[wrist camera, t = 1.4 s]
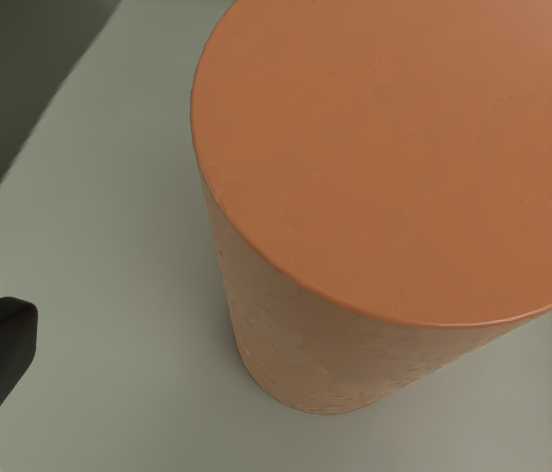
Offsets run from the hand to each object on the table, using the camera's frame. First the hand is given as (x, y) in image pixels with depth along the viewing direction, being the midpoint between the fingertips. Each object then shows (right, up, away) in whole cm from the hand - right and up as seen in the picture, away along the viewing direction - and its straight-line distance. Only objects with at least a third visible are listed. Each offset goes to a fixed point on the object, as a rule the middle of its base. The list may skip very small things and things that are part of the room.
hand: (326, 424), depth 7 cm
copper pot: (+1, +1, +13) cm, 13 cm away
